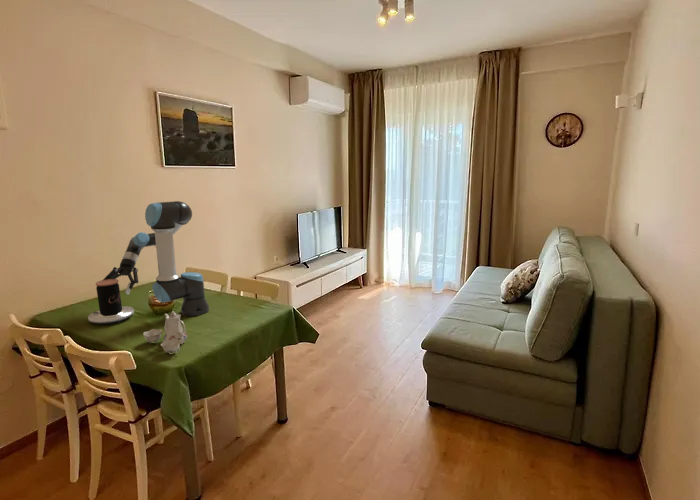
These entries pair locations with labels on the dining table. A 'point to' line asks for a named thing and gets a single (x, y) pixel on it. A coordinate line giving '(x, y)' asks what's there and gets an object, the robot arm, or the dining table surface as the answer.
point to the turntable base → (111, 322)
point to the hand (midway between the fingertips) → (115, 293)
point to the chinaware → (169, 333)
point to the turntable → (99, 318)
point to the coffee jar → (109, 297)
